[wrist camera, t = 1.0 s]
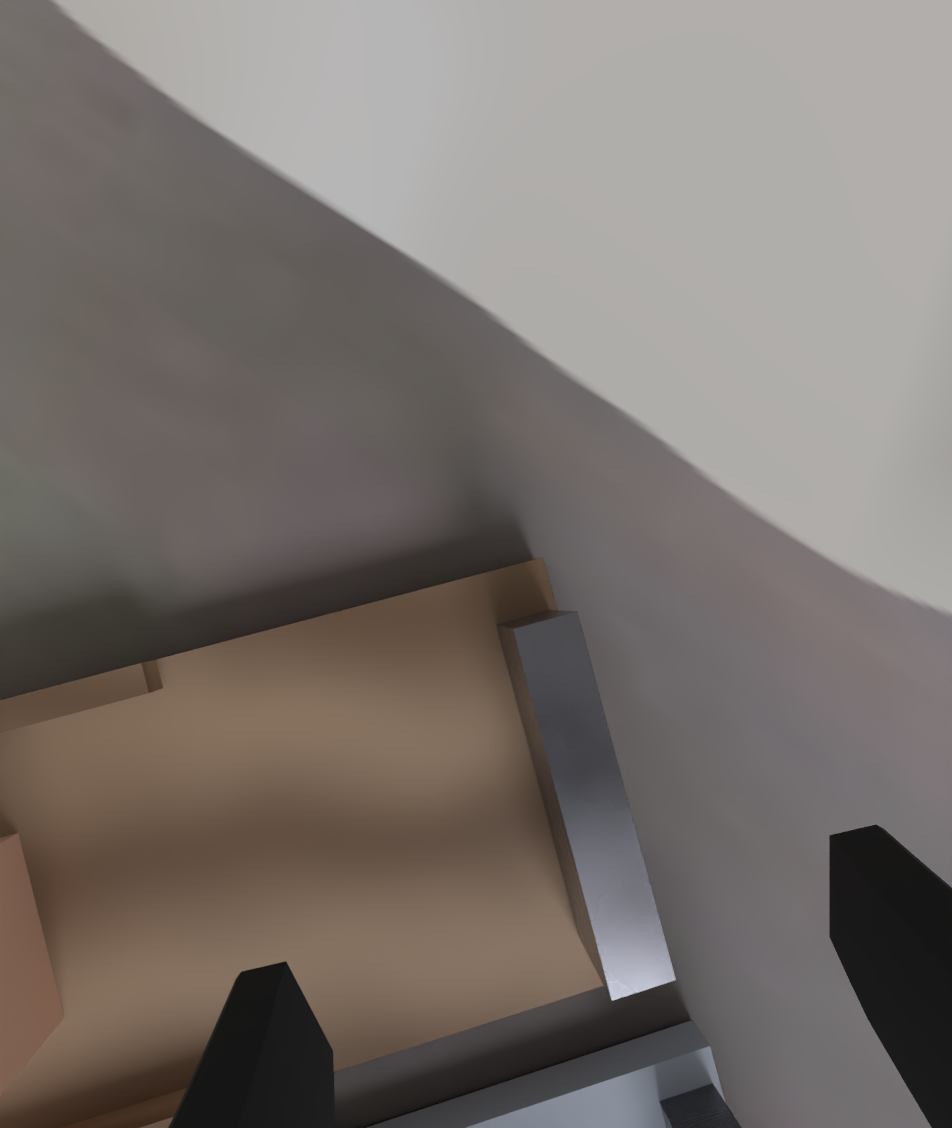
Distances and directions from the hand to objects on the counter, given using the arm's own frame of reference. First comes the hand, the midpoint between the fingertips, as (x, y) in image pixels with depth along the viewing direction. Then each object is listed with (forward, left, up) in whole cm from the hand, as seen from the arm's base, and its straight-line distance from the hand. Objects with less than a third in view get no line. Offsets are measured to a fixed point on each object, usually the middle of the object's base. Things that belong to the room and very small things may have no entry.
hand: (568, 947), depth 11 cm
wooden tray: (-1, +8, -13) cm, 15 cm away
